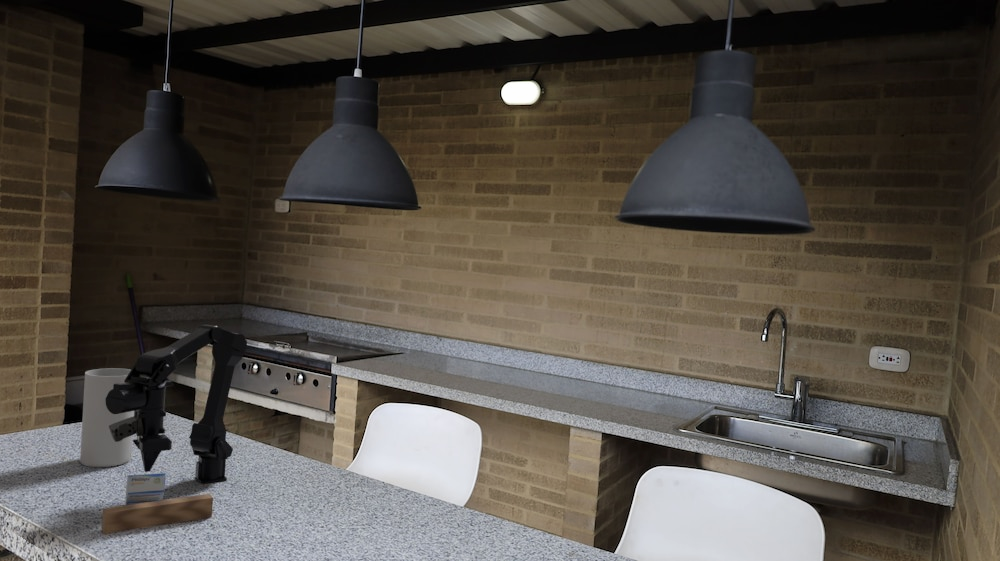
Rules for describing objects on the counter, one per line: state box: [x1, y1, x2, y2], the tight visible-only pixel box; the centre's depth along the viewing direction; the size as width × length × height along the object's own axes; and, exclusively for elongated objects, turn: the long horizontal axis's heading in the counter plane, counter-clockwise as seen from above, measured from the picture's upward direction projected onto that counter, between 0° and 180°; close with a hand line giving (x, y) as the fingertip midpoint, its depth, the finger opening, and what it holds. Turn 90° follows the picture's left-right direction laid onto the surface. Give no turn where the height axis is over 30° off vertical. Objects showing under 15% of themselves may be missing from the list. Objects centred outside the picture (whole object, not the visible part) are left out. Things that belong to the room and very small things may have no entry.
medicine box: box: [125, 472, 166, 505], centre depth 165 cm, size 8×4×9 cm
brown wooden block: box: [101, 493, 214, 535], centre depth 157 cm, size 22×3×4 cm, turn 128°
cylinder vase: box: [79, 367, 135, 468], centre depth 195 cm, size 12×12×25 cm
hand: (147, 471), depth 167 cm, fingers closed
